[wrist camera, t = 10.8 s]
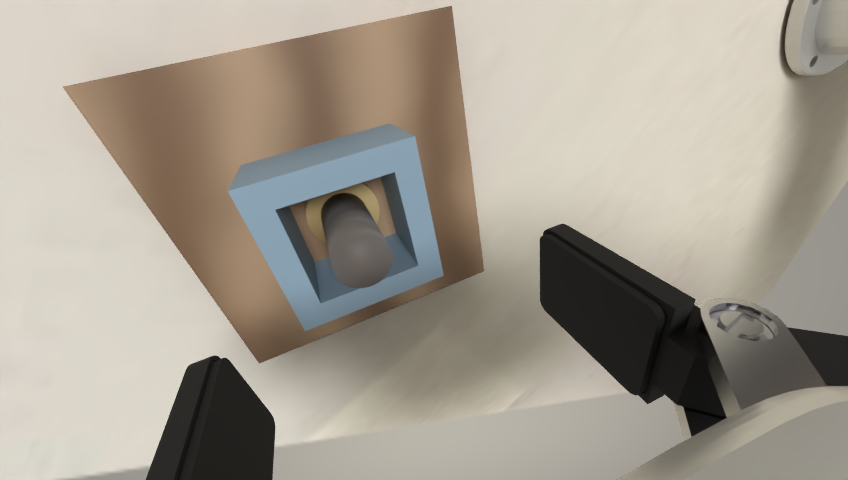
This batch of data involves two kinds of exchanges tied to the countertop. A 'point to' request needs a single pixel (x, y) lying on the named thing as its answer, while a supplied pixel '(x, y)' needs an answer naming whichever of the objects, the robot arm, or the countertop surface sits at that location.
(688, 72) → the countertop surface
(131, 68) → the countertop surface
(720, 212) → the countertop surface
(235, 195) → the slate ring
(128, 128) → the post board
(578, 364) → the countertop surface
